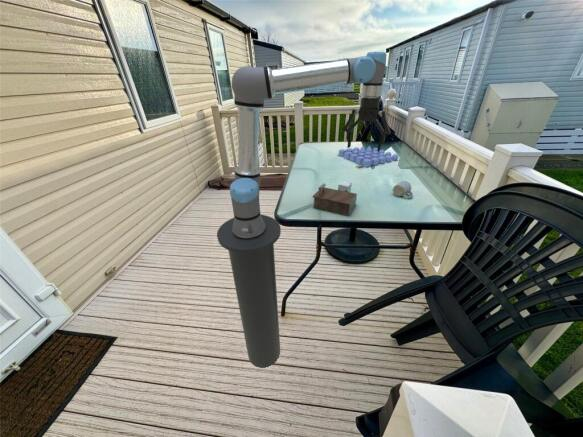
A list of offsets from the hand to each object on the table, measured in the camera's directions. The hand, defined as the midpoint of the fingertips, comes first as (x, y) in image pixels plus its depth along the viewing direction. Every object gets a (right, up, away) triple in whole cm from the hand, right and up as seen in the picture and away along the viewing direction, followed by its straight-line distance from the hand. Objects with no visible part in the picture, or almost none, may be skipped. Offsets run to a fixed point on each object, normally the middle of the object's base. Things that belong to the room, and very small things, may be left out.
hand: (363, 148), depth 111 cm
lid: (-10, -20, +19) cm, 29 cm away
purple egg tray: (+31, +19, +93) cm, 100 cm away
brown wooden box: (-9, -25, +22) cm, 35 cm away
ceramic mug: (+33, -18, +32) cm, 49 cm away
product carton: (-2, -18, +34) cm, 38 cm away
